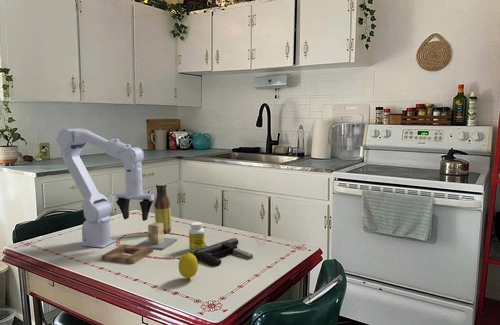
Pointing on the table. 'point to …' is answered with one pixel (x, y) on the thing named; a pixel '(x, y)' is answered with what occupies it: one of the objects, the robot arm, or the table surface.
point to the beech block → (156, 233)
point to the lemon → (188, 265)
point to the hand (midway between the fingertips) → (135, 219)
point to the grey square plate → (161, 246)
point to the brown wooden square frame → (118, 255)
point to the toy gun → (220, 252)
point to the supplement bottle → (196, 237)
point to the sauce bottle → (163, 208)
